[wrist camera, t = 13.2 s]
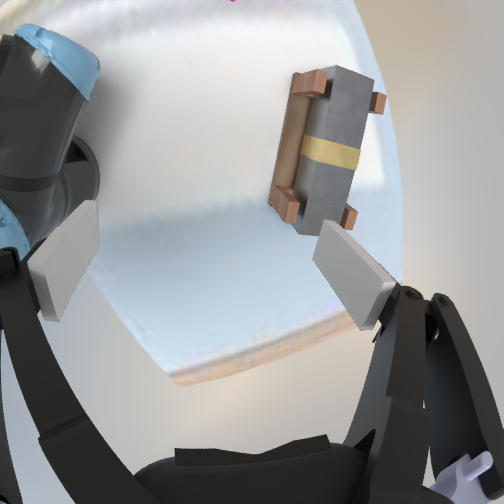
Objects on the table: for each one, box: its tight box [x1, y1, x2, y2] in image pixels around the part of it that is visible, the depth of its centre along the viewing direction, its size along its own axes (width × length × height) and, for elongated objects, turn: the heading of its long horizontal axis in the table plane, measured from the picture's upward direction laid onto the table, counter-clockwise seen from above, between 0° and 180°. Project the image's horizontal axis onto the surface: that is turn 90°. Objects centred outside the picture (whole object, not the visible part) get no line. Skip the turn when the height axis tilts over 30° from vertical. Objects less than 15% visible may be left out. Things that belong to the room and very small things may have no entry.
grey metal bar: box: [291, 65, 374, 236], centre depth 36 cm, size 24×6×6 cm, turn 170°
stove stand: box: [268, 69, 387, 230], centre depth 38 cm, size 11×22×10 cm, turn 170°
